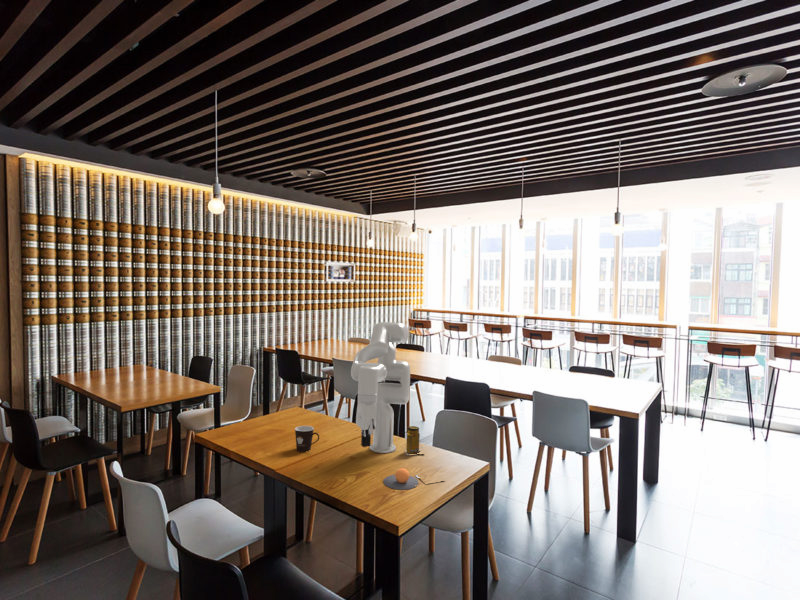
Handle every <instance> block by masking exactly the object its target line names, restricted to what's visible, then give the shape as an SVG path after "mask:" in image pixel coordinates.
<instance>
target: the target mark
mask: <svg viewBox="0 0 800 600" xmlns="http://www.w3.org/2000/svg"><path fill="white" fill-rule="evenodd" d="M418 481H419V479H418V478H417V477H415V476H412V475H409V479H408V481H407V482H405V483H399V482H398V481H397V480H396V478H395V474H391V475H388V476H387V477H384V479H383V484H384V485H385V486H386V487H388V488H390V489H393V490H399V491H404V490H406V491H407V489H408V490H412V488H413V489H415V488H417V487H416V486H415V485H418V484H419V485H420V482H419V483H418ZM419 485H418V486H419ZM414 487H415V488H414Z"/></svg>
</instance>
